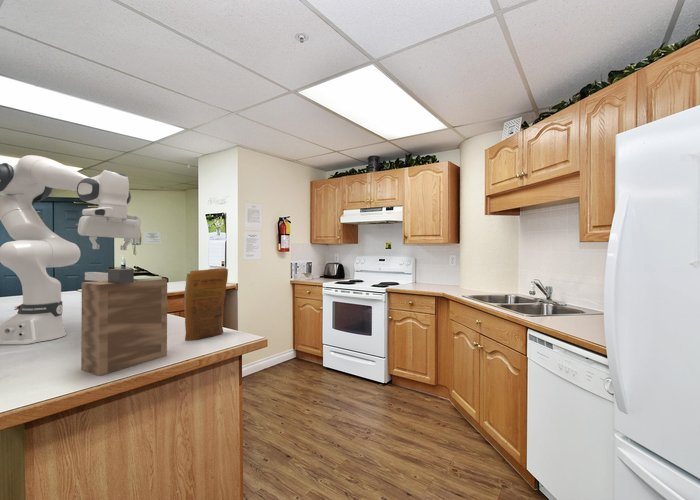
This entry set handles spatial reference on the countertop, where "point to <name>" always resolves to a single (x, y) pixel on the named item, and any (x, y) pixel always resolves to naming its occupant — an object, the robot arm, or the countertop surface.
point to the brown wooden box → (123, 324)
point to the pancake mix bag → (204, 303)
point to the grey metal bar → (112, 276)
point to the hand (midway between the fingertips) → (110, 249)
